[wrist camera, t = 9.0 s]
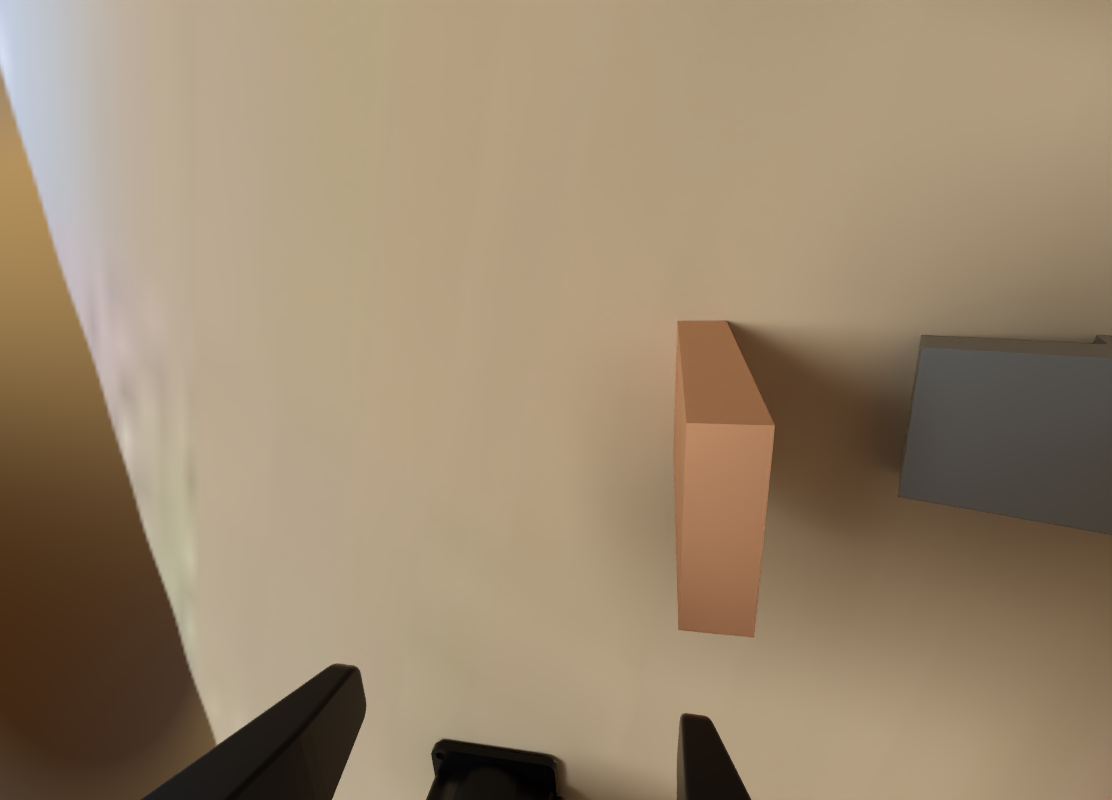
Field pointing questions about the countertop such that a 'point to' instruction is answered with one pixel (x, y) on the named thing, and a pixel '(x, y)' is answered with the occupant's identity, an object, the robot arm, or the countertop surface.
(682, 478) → the domino
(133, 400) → the countertop surface
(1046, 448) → the domino
